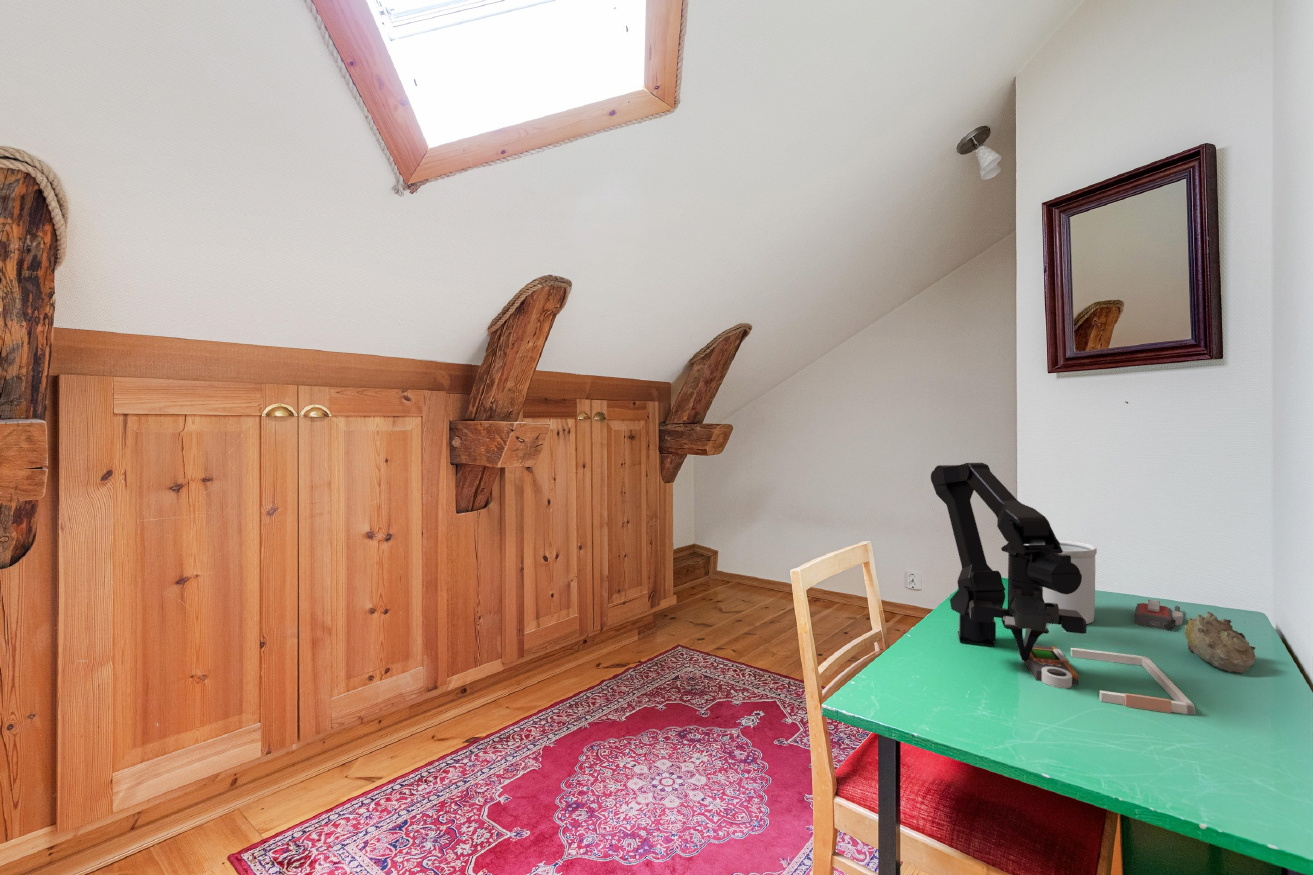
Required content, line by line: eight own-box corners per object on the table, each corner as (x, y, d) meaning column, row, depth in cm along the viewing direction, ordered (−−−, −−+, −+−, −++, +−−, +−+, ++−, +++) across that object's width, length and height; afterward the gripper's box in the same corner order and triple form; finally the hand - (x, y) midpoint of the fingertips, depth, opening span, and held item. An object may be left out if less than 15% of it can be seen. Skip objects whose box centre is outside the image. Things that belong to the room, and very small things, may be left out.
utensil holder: (1010, 612, 150) (1011, 542, 149) (1042, 603, 158) (1043, 536, 157) (1076, 630, 137) (1077, 553, 137) (1107, 618, 145) (1109, 546, 144)
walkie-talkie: (1183, 635, 135) (1182, 613, 150) (1184, 616, 134) (1183, 595, 150) (1133, 627, 140) (1137, 606, 155) (1133, 608, 140) (1137, 589, 155)
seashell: (1186, 674, 116) (1189, 624, 115) (1177, 643, 128) (1180, 598, 127) (1267, 690, 110) (1271, 637, 109) (1250, 656, 122) (1254, 608, 120)
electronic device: (1040, 674, 109) (1019, 640, 123) (1040, 690, 109) (1018, 654, 123) (1084, 679, 107) (1057, 644, 121) (1084, 695, 107) (1057, 659, 121)
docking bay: (1102, 702, 102) (1102, 691, 102) (1070, 654, 123) (1070, 645, 123) (1196, 716, 97) (1196, 704, 97) (1147, 664, 118) (1147, 654, 118)
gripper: (973, 584, 112) (972, 667, 113) (1094, 596, 105) (1093, 685, 105) (969, 571, 123) (968, 647, 123) (1079, 580, 115) (1078, 661, 115)
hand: (1024, 660), depth 116 cm, fingers closed
